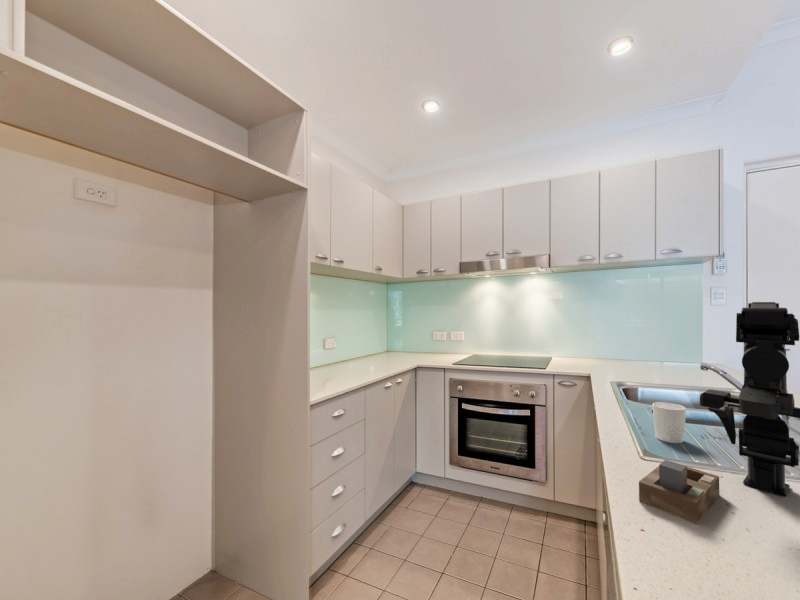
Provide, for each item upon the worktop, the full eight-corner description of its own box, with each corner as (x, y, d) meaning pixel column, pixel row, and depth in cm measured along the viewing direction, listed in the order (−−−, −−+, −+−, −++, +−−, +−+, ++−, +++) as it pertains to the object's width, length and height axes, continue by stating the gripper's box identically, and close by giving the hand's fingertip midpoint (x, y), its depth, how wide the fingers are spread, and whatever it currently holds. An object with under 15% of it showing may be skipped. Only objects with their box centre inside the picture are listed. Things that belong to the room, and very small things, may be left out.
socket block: (666, 477, 81) (665, 459, 81) (719, 495, 74) (719, 474, 74) (639, 500, 72) (638, 480, 72) (697, 524, 64) (696, 500, 64)
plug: (665, 497, 73) (665, 459, 73) (687, 505, 70) (686, 466, 70) (659, 503, 71) (659, 464, 71) (681, 512, 68) (681, 471, 68)
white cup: (671, 433, 108) (670, 401, 108) (693, 444, 100) (693, 409, 100) (646, 434, 108) (646, 402, 108) (666, 444, 100) (666, 410, 100)
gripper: (690, 369, 71) (692, 446, 70) (838, 387, 55) (840, 485, 55) (706, 363, 77) (708, 433, 77) (843, 377, 62) (844, 465, 62)
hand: (765, 451), depth 68 cm, fingers open, 9 cm apart
